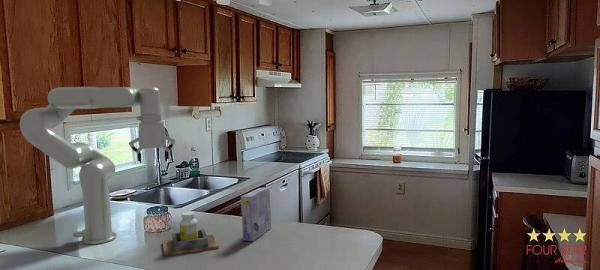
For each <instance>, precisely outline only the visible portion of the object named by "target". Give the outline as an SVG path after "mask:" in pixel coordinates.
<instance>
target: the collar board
mask: <svg viewBox="0 0 600 270" xmlns="http://www.w3.org/2000/svg"><path fill="white" fill-rule="evenodd" d="M171 237H172V239H170V240H163V241H162V246H163V247H162V248H163V255H164V257H169V256H175V255H176V256H177V255H182V254H183V255H184V254H190V253H191V254H192V253H197V252H203V251H210V250H217V249H219V243H218V242H217V240H216V238H215V235H214V234H207V233H206V232H205V229H204V228H201V229H198V239H192V240H184V241H181V238H180V231H179V232H178V231H177V232H172V233H171Z"/></svg>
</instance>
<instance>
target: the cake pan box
mask: <svg viewBox="0 0 600 270" xmlns="http://www.w3.org/2000/svg"><path fill="white" fill-rule="evenodd" d="M270 191H271V190H270V187H269V186H268V187H267V186H266V187H259V188H257V189H254V190H252V191H250V192H247V193H245V194H243V195H241V196H240V208H241V210H240V211H241V223H242V225H241V226H242V239H243V241H244V242H245V241H246V242H252V243H253V242H255V241H256V240H257V239H258V238H260V237H262V236H264V235H265V234H266V233H267V232H268V231H269V230H271V229H272V214H271V211H272V210H271V197H270V196H271V193H270Z"/></svg>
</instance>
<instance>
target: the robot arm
mask: <svg viewBox="0 0 600 270" xmlns="http://www.w3.org/2000/svg"><path fill="white" fill-rule="evenodd" d="M160 94H161V93H160V89H159V88H158V87H153V86H152V87H141V88H140V87H139V88H138V87H129V86H128V87H127V86H122V87H121V86H119V87H118V86H115V87H114V86H112V87H97V86H67V87H66V86H65V87H63V86H62V87H61V86H59V87H55V88H53V89H51V90H50V91H49V92H48V95H47V102H48V105H47V106H45V107H35V108H31V109H29V110H26V111H25V112H24V113H23V114H22V115H21V116H20V121H19V128H20V131H21V132H20V133H21V134H22V136H23V138H24V139H25V140H26V141H27V142H28V143H30V144H31V145H32V146H34V147H35V148H37V149H38V150H40V151H41V152H42V153H44V154H45V155H47V156H48V157H50V158H51V159H53V160H54V161H55V162H57V163H58V164H60V165H61V166H63V167H64V168H66V169H71V170H72V169H76V168H79V167H80V171H79V174H78V177H79V178H78V179H79V183H80V184H79V185H80V187H81V193H82V203H83V204H82V205H83V213H84V214H83V215H84V217H83V218H84V229H82V230H81V231H73V232H72V236H73V238H74V237H75V238H76V239H77V238H81V243H82V244H85V245H98V244H104V243H108V242H111V241H113V240H115V239H116V238H117V232H115V231H113V229H112V213H111V200H110V199H111V198H110V191H109V186H108V182H107V181H108V180H109V179H112V177H113V176H114V175H115V172H116V166H115V164H114V162H113V160H111V159H110V158H109V157H108V156H106V154H105V155H104V154H103V153H102V152H100V151H98V149H96V148H94V147H93V146H91V145H90V144H88V143H85V142H74V143H73V142H71V141H69V140H67V139H65V138H64V137H63V136H61V135H60V134H58V133H56V132H54V131H52V130H50V129H53V128H56V127H58V126H59V125H60V124H62V123H63V122H64V121H65V120H66V119H67V118H68V116H70V115H71V114H72V113H73V112H74V111H76V110H91V109H92V110H94V109H95V110H96V109H99V108H100V109H102V108H130V107H131V108H132V107H138V106H139V111H140V113H139V114H140V115H139V116H136V121H140V122H139V123H138V128H137V129H138V131H137V133H138V134H137V135H138V136H137V137H136V138H135V139H133V140H131V141H129V142H128V145H129V147H130V148H131V150H133V151H134V152H135V153H136V154H137V155H136V156H137V157H136V158H137V162H139V164H142V163H143V162H142V150H143V149H157V148H158V149H160V148H161V149H162V148H163V149H164V162H166V163H167V162H168V160H169V159H170V154H169V152H170V150H171V149H173V147H174V145H175V144H176V139H173V138H172V137H169V136H167V135H166V128H165V124H164V122H163V121H162V113H161V110H162V109H161V95H160ZM137 142H138V148H137V147H136V146H135V144H136V143H137ZM167 142H170V143H169V145H168V146H167Z"/></svg>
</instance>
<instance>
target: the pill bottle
mask: <svg viewBox="0 0 600 270" xmlns="http://www.w3.org/2000/svg"><path fill="white" fill-rule="evenodd" d="M195 216H196V213H195V212H194V211H184V212H182V213H181V218H182V219H181V220H180V221H179V232H180V238H181V241H184V240H192V239H198V230H199V226H198V225H199V224H198V220H197V219H196V218H195Z"/></svg>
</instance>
